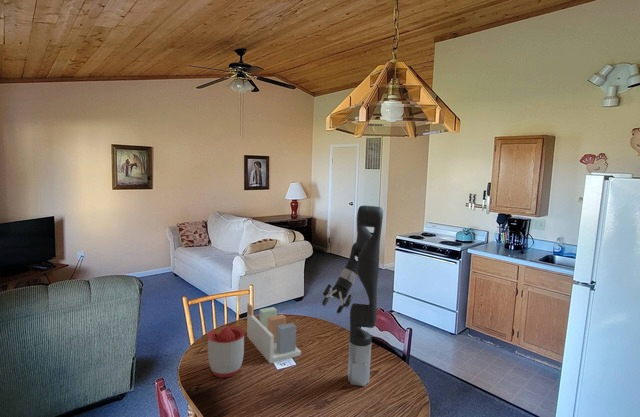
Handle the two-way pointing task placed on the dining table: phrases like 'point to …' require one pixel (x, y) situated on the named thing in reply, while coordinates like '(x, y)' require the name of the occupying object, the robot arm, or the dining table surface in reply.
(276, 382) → the dining table surface
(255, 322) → the rack
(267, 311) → the sage block
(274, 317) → the terracotta block
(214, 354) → the citrus juicer
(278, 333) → the slate block
